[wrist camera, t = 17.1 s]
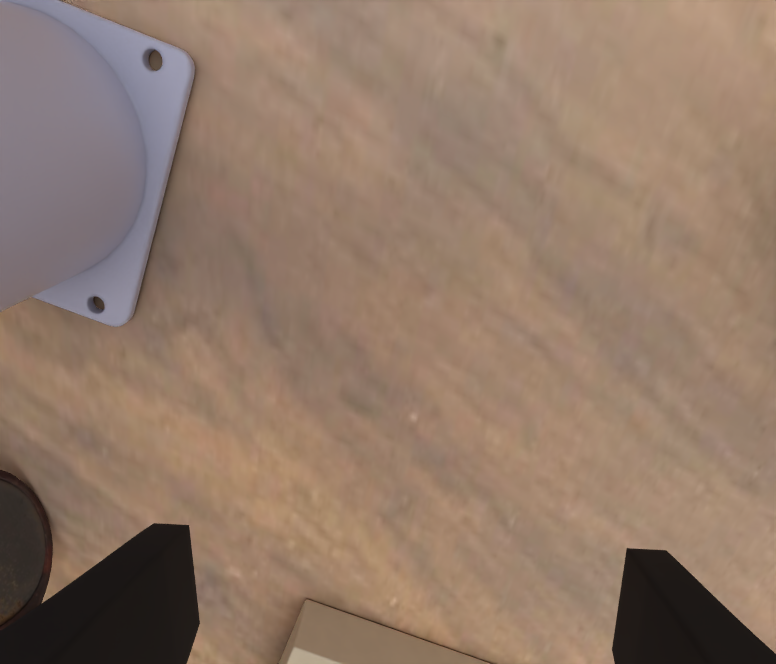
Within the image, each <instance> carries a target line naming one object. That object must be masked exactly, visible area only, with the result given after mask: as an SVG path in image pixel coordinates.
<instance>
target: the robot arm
mask: <svg viewBox="0 0 776 664" xmlns="http://www.w3.org/2000/svg"><path fill="white" fill-rule="evenodd" d="M155 50H157V51H158V52H159V53H160V54H161V56H162V60H163V64H162V66H161V68H160V69H159V70H157V71H155V70H153V69H152V68H151V66H150V64H149V56H150V54H151V52H153V51H155ZM194 76H195V66H194V62H193V59H192V58H191V57H190V55H189V54H188V53H187V52H186V51H184V50H182V49H181V48H178V47H176V46H173V45H171V44H168V43H166V42H163V41H161V40H158V39H156V38H153V37H151V36H148V35H146V34H143V33H141V32H138V31H136V30H133V29H131V28H128V27H126V26H123V25H121V24H118V23H116V22H113V21H111V20H108V19H106V18H103V17H101V16H98V15H96V14H93V13H91V12H88V11H86V10H83V9H81V8H78V7H76V6H73V5H71V4H68V3H66V2H63V1H60V0H0V312H2V311H4V310H6V309H8V308H10V307H12V306H14V305H16V304H18V303H20V302H22V301H24V300H26V299H28V298H30V297H33V298H36V299H38V300H41V301H44V302H46V303H49V304H52V305H55V306H57V307H60V308H63V309H65V310H68V311H71V312H73V313H76V314H79V315H82V316H84V317H87V318H90V319H92V320H95V321H98V322H101V323H103V324H106V325H109V326H113V327H118V326H122V325H124V324H125V323H126V322H128V321H129V320H130V319H131V318H132V316H133V314H134V311H135V307H136V303H137V299H138V296H139V292H140V288H141V284H142V280H143V276H144V272H145V268H146V264H147V260H148V256H149V252H150V248H151V245H152V241H153V237H154V233H155V229H156V225H157V221H158V217H159V213H160V209H161V205H162V201H163V197H164V194H165V190H166V186H167V182H168V178H169V174H170V170H171V166H172V162H173V158H174V154H175V150H176V146H177V142H178V139H179V135H180V131H181V127H182V123H183V119H184V115H185V111H186V107H187V103H188V99H189V95H190V91H191V88H192V84H193V80H194ZM94 296H96V297H99V298H100V299H102V301H103V302H104V306H105V309H104V310H103V309H99V308H98V307H96V305H95V304H94V300H93V298H94ZM199 624H200V621H199V612H198V603H197V594H196V584H195V575H194V566H193V557H192V548H191V539H190V530H189V525H176V524H157V523H154V524H152V525H151V526H149V527H148V528H146V529H145V530H143V531H142V532H140V533H139V534H138V535H136V536H135V537H133V538H132V539H131V540H129V541H128V542H126V543H125V544H124V545H122V546H121V547H120V548H118V549H117V550H116V551H114V552H113V553H111V554H110V555H109V556H107V557H106V558H105V559H103V560H102V561H101V562H99V563H98V564H97V565H95V566H94V567H92V568H91V569H90V570H88V571H87V572H85V573H84V574H83V575H81V576H80V577H79V578H77V579H76V580H74V581H73V582H72V583H70V584H69V585H67V586H66V587H65V588H63V589H62V590H60V591H59V592H58V593H56V594H55V595H54V596H52V597H51V598H49V599H48V600H46V601H45V602H43V603H42V604H40V605H39V606H37V607H36V608H34V609H33V610H31V611H30V612H28V613H27V614H25V615H24V616H22V617H21V618H19V619H18V620H16V621H15V622H13V623H12V624H10V625H9V626H7V627H6V628H4V629H3V630H1V631H0V664H186V663H187V661H188V658H189V655H190V652H191V649H192V646H193V643H194V639H195V636H196V633H197V630H198V627H199ZM612 651H613V656H614V661H615V664H776V654H775V653H774V652H773V651H772V650H771V649H770V648H769V647H767V646H766V645H765V644H764V643H763V642H762V641H761V640H760V639H759V638H758V637H756V636H755V635H754V634H753V633H752V632H751V631H750V630H749V629H748V628H747V627H746V626H745V625H743V624H742V623H741V622H740V621H739V620H738V619H737V618H736V617H735V616H734V615H733V614H732V613H731V612H730V611H729V610H728V609H727V608H726V607H725V606H723V605H722V604H721V603H720V602H719V601H718V600H717V599H716V598H715V597H714V596H713V595H712V594H711V593H710V592H709V591H708V590H707V589H706V588H705V587H704V586H703V585H702V584H701V583H700V582H699V581H698V580H697V579H696V578H695V577H694V576H693V575H691V574H690V573H689V572H688V571H687V570H686V569H685V568H684V567H683V566H682V565H681V564H680V563H679V562H678V561H677V560H676V559H675V558H674V557H673V556H672V555H671V554H669V553H668V552H667V551H666V550H648V549H629V548H627V551H626V558H625V565H624V571H623V578H622V585H621V592H620V599H619V606H618V613H617V620H616V627H615V633H614V640H613V647H612Z"/></svg>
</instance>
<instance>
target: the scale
mask: <svg viewBox="0 0 776 664" xmlns="http://www.w3.org/2000/svg"><path fill="white" fill-rule="evenodd" d="M278 664H491V663H488V662H485V661H482V660H479V659H476V658H473V657H471V656H468V655H465V654H462V653H459V652H456V651H453V650H451V649H448V648H445V647H442V646H439V645H436V644H433V643H431V642H428V641H425V640H422V639H419V638H416V637H414V636H411V635H408V634H405V633H402V632H399V631H396V630H394V629H391V628H388V627H385V626H382V625H379V624H376V623H374V622H371V621H368V620H365V619H362V618H359V617H356V616H354V615H351V614H348V613H345V612H342V611H339V610H336V609H334V608H331V607H328V606H325V605H322V604H319V603H317V602H314V601H311V600H308V599H306V600H305V602H304V604H303V607H302V609H301V611H300V614H299V616H298V618H297V621H296V623H295V626H294V628H293V630H292V633H291V635H290V637H289V640H288V642H287V645H286V647H285V649H284V652H283V654H282V656H281V659H280V661H279V663H278Z"/></svg>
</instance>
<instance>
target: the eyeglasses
mask: <svg viewBox="0 0 776 664" xmlns="http://www.w3.org/2000/svg"><path fill="white" fill-rule="evenodd" d="M52 555H53V543H52V534H51V530H50V525H49V522H48V519H47V517H46V514H45V512H44V510H43V508H42V506H41V504H40V502H39V501H38V499H37V498H36V496H35V495H34V493H33V492H32V491H31V489H30V488H29V487H28V486H27V485H26V484H25V483H24V482H22V481H21V480H20V479H18V478H17V477H16V476H14V475H12V474H10V473H8V472H5V471H2V470H0V631H1V630H3V629H4V628H6V627H7V626H9V625H10V624H12V623H13V622H15V621H16V620H18V619H19V618H21V617H22V616H24V615H25V614H27V613H28V612H30V611H31V610H33V609H34V608H36V607H37V606H39V605H40V604H41V603H42V600H43V597H44V594H45V591H46V588H47V585H48V581H49V577H50V572H51V567H52Z"/></svg>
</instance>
